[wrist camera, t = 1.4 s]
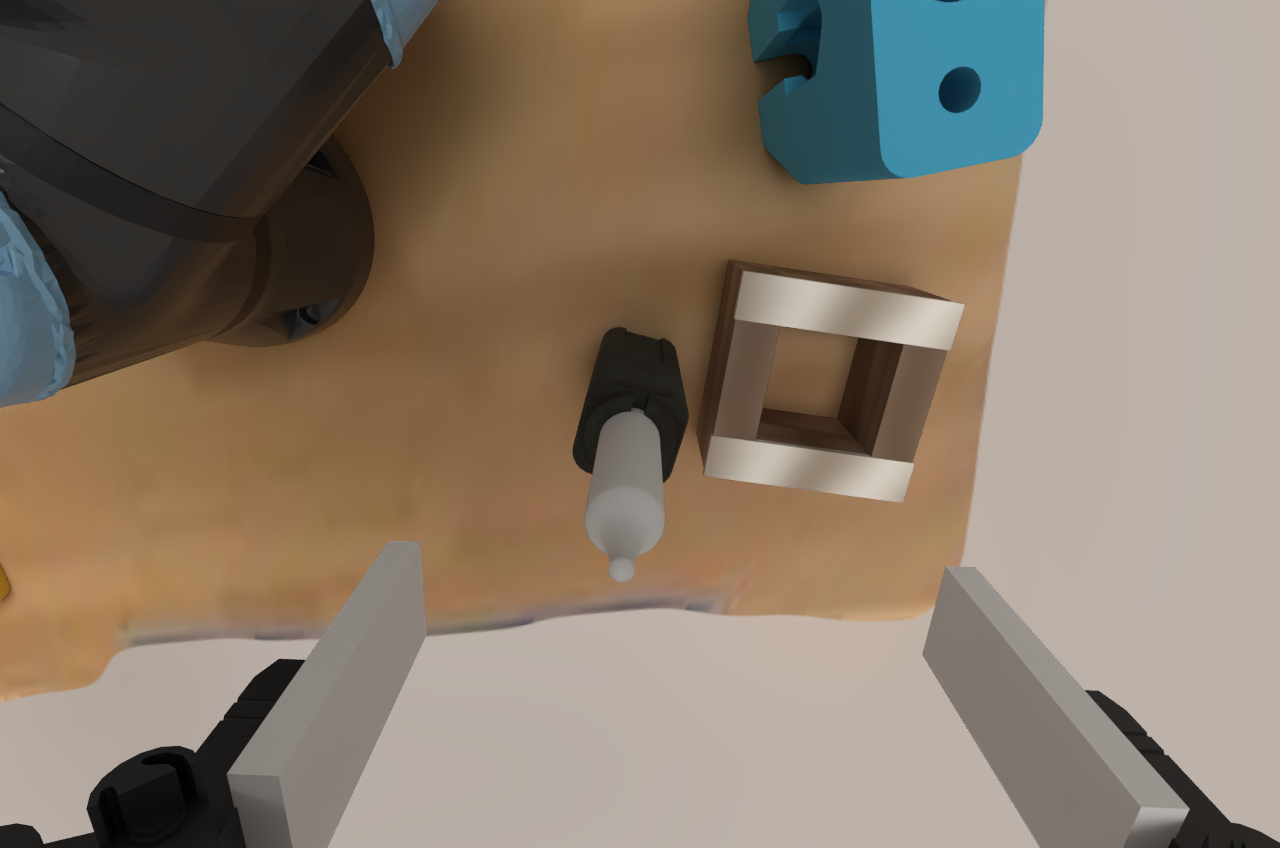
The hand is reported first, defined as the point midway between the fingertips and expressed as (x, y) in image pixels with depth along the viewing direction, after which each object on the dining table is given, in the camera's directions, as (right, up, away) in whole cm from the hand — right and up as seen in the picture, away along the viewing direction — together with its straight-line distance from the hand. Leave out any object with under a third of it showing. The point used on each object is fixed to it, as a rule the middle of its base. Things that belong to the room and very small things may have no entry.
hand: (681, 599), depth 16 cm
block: (+8, +25, +21) cm, 34 cm away
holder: (+10, +9, +27) cm, 30 cm away
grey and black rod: (-1, +8, +27) cm, 29 cm away
